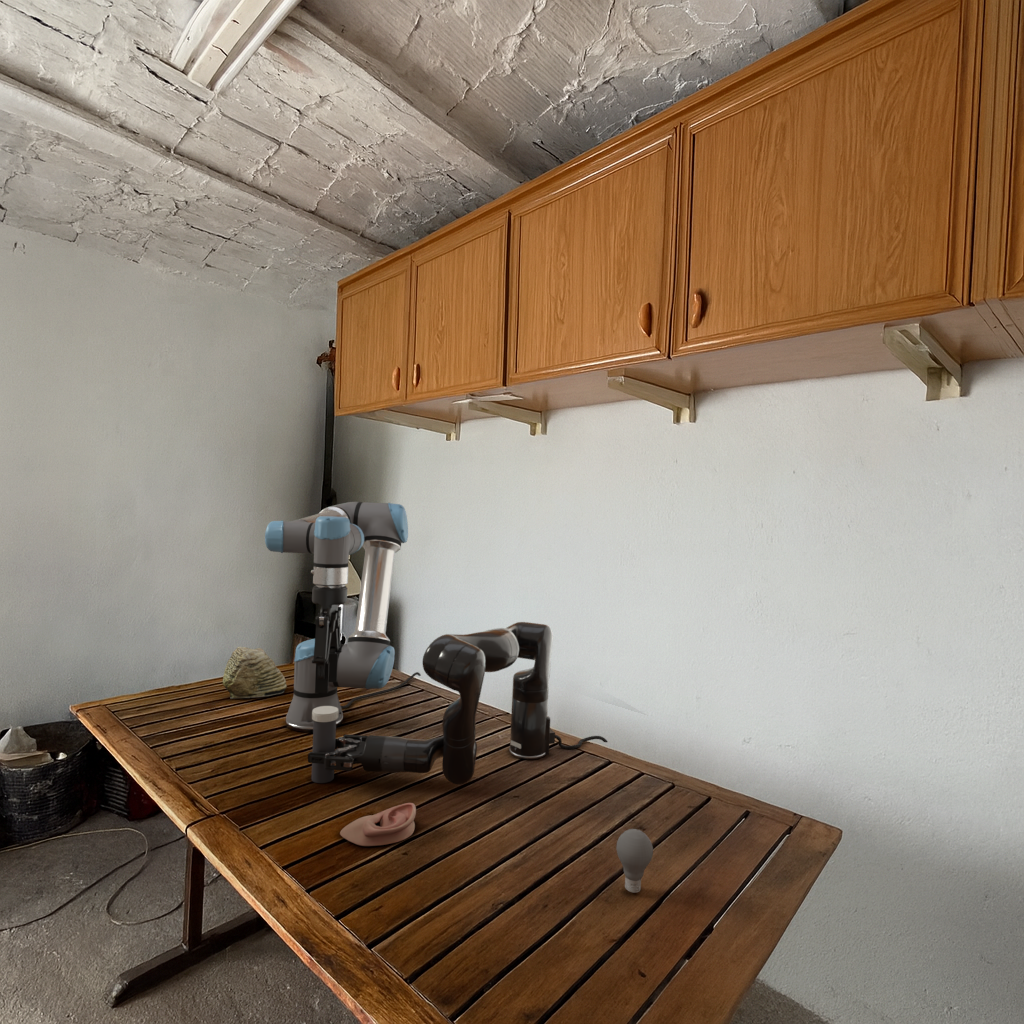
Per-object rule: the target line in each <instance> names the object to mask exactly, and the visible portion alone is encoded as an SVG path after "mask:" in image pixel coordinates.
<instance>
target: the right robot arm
mask: <svg viewBox="0 0 1024 1024" xmlns="http://www.w3.org/2000/svg"><path fill="white" fill-rule="evenodd" d="M553 644H554V633H553V630H552V627H551V626H550V625H548V624H545V623H544V624H543V623H538V622H537V623H536V622H528V621H518V622H515V623H512V624H511V625H508V626H506V627H498V628H491V629H487V630H484V631H478V632H472V633H467V634H459V633H458V634H457V633H455V634H454V633H446V634H441V635H440V636H438V637H437V638H435V639H434V640H433V641H432V642H430V644H429V645H428V646H427V648H426V649H425V651H424V653H423V656H422V668H423V671H424V673H425V674H426V676H428V677H429V678H430V679H431V680H432V681H435V682H437V683H438V684H441V685H443V686H445V687H446V688H447V689H450V690H452V691H456V692H458V693H459V697H458V698H457V699H456V700H454V701H452V702H451V703H450V704H449V705H448V706H447V708H446V709H445V711H444V713H443V716H442V723H441V724H442V726H441V727H442V736H439V737H432V738H428V739H418V738H406V737H401V736H387V735H373V734H370V735H360V734H347V733H346V734H343V735H342V736H339V737H336V740H335V751H334V752H329V753H326V752H312V751H310V752H308V754H307V762H308V763H309V764H312V763H320V764H325V769H326V770H334V771H346V772H348V771H349V772H351V771H353V768H354V767H353V766H354V765H358V764H361V765H362V769H363V770H364V771H365V772H376V773H392V774H397V773H414V774H428V773H430V772H431V770H432V769H433V767H434V765H435V762H436V761H437V760H438V759H440V758H442V762H441V763H442V766H441V767H442V774H443V776H444V778H445V779H446V780H447V781H448V782H449V783H451V784H453V785H457V786H458V785H459V786H460V785H464V784H466V783H468V782H469V781H471V779H472V778H473V776H474V775H475V770H476V760H477V753H478V752H477V751H478V743H477V741H476V736H477V735H476V734H477V731H476V729H477V728H476V727H477V722H476V721H477V720H476V719H477V711H478V706H479V703H480V699H481V694H482V689H483V684H484V679H485V673H496V672H500V671H502V670H505V669H507V668H509V667H511V666H512V665H513V664H515V662H516V661H517V659H521V660H522V659H524V660H529V661H530V660H531V661H534V664H533V667H530V668H527V669H522V670H518V671H517V672H514V674H513V676H512V693H511V695H512V696H511V716H510V735H509V737H510V739H509V750H508V751H509V754H510V755H511V756H513V757H515V758H517V759H522V760H538V759H542V758H543V757H545V756H549V755H550V745H552V744H555V743H556V740H557V741H558V742H557V744H558V746H559V748H560V749H562V750H563V749H564V750H574V749H578V748H580V747H582V744H583V743H586V742H588V741H592V740H599V741H602V742H603V743H608V740H607V739H606V738H605V737H603V736H601V735H591V736H587V737H584V738H582V739H580V740H579V741H578V743H577V744H572V745H564V744H563V741H562V738H561V737H560V736H559V735H558V734H556V732H555V731H554V730H553V729H551V717H550V716H549V715H548V712H549V711H548V709H549V690H550V689H549V687H550V676H551V667H552V666H551V665H552V655H553V646H554V645H553Z"/></svg>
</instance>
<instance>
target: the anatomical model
mask: <svg viewBox="0 0 1024 1024" xmlns="http://www.w3.org/2000/svg"><path fill="white" fill-rule="evenodd" d="M416 806H417V805H415V803H413V802H406V803H402V804H398V805H395V806H392V807H390V808H387V809H385V810H382V811H380V812H378V813H375V814H373V815H372V814H371V815H364V816H362V817H359V818H357V819H355V820H353V821H351V822H349V823H348V824H347V825H345V826H344V827H343V828H342V829H341V830H340V832H339V835H340V837H342V838H343V839H345V840H346V841H348V842H349V843H352V844H355V845H357V846H359V847H376V846H384V845H385V846H386V845H389V844H395V843H398V842H401V841H403V840H406V839H408V838H410V837H411V836H412V835H413V833H414V832H415V828H416V823H415V821H414V820H415V819H416V815H417V807H416Z"/></svg>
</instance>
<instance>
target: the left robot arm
mask: <svg viewBox="0 0 1024 1024" xmlns="http://www.w3.org/2000/svg"><path fill="white" fill-rule="evenodd" d="M408 538H409V523H408V515H407V511H406V508H405V507H404V506H403V505H402V504H400V503H391V502H367V501H348V502H343V503H338V504H335V505H334V504H333V505H331V506H328V507H325V508H323V509H322V510H321V511H319V513H316V514H313V515H309V516H305V517H301V518H297V519H294V520H272V521H270V522H268V523H267V526H266V528H265V532H264V543H265V547H266V548H267V550H268V551H270V552H273V553H274V552H275V553H281V554H283V553H287V554H288V553H289V554H312V555H313V569H311V571H310V574H312V575H313V576H312V584H314V585H313V587H312V590H311V591H312V594H311V601H312V603H313V604H315V605H320V610H319V611H318V614H317V615H316V616H315V634H314V638H312V639H307V640H304V641H302V642H300V643H298V644H297V645H296V648H295V655H294V659H293V662H294V672H293V695H292V696H293V697H292V699H291V702H290V704H289V708H288V711H287V713H286V715H285V726H286V728H287V729H289V730H291V731H294V732H295V731H296V732H301V733H313V725H314V720H312V710H313V709H314V708H317V707H320V706H334V707H337V708H338V711H339V713H338V718H337V719H336V728H337V727H339V726H340V725H342V723H343V722H344V714H343V710H344V709H347V708H349V707H350V706H351V705H352V703H354V702H356V701H358V700H362V699H365V698H370V697H374V696H378V695H382V694H384V693H385V694H386V693H389V692H392V691H395V690H397V689H400V688H402V687H403V686H405V685H407V683H408V682H410V680H412V679H413V678H414V677H416V676H419V677H420V676H421V673H420V672H419V671H418V672H417V671H416V672H414V673H413V674H411V675H410V676H409V677H408V678H407V679H406V680H405V681H404V682H402V683H400V684H398V685H396V686H393V687H390V688H388V689H384V690H380V689H383V688H384V687H385V686H386V685H387V684H388V682H389V680H390V678H391V675H392V672H393V668H394V663H395V654H396V650H395V647H394V646H392V645H391V640H390V638H389V637H388V636H387V634H386V632H387V624H388V615H389V606H390V598H391V589H392V581H393V572H394V563H395V556H396V554H397V553H398V552H400V551H401V550H402V549H401V548H402V544H405V543H407V542H408ZM361 548H362V549H364V551H365V552H364V559H363V567H362V574H361V580H360V581H361V582H360V589H359V597H358V602H357V603H358V604H357V611H356V618H355V625H354V626H355V627H354V631H353V632H352V633H351V634H350V635H349V636H348V637H347V643H345V644H344V643H341V637H342V636H341V635H342V634H341V633H342V632H341V631H342V630H341V623H342V622H341V619H342V617H341V616H342V606H339V605H344V604H346V603H347V601H348V587H347V584H348V583H349V557H350V556H351V555H354V554H355V553H358V551H360V549H361ZM338 688H348V689H364V690H365V689H366V690H371V689H373V690H374V689H375V690H377V689H379V690H380V691H376V692H372V693H368V694H363V695H360V696H356V697H354V698H351V700H349V702H348V703H346V704H345V705H341V702H340V699H339V695H338Z"/></svg>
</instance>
